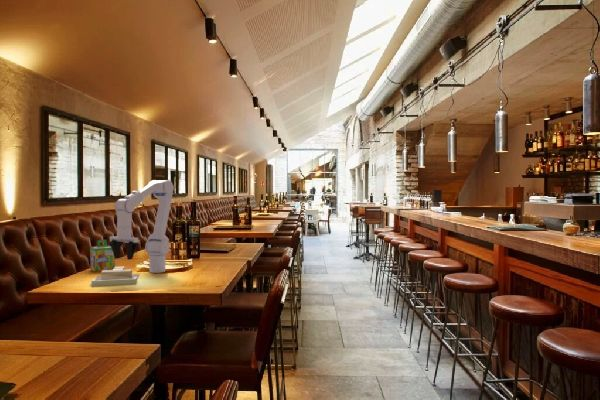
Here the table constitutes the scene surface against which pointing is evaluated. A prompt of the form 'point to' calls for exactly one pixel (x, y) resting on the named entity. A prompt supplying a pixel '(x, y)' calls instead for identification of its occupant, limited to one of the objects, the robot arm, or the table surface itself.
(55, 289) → the table surface
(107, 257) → the chalk box
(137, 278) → the board
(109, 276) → the t block
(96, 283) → the off-white long channel
